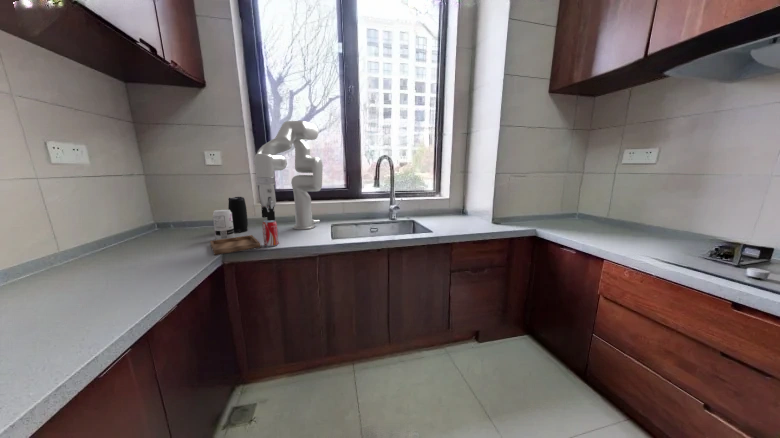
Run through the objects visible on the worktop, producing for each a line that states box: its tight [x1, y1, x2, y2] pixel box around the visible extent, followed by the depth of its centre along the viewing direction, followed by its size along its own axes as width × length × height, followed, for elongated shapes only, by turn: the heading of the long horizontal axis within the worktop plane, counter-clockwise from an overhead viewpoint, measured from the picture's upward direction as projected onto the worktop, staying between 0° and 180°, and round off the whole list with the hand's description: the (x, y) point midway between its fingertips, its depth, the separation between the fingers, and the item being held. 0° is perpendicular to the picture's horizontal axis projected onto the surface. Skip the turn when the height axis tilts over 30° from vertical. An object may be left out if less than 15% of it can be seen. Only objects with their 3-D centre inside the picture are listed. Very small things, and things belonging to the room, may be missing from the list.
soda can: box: [261, 219, 279, 248], centre depth 128 cm, size 6×6×12 cm
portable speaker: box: [227, 196, 249, 234], centre depth 154 cm, size 9×9×20 cm
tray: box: [209, 234, 262, 256], centre depth 126 cm, size 18×18×2 cm
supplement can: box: [212, 208, 236, 240], centre depth 137 cm, size 8×8×15 cm
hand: (268, 218), depth 126 cm, fingers open, 9 cm apart
